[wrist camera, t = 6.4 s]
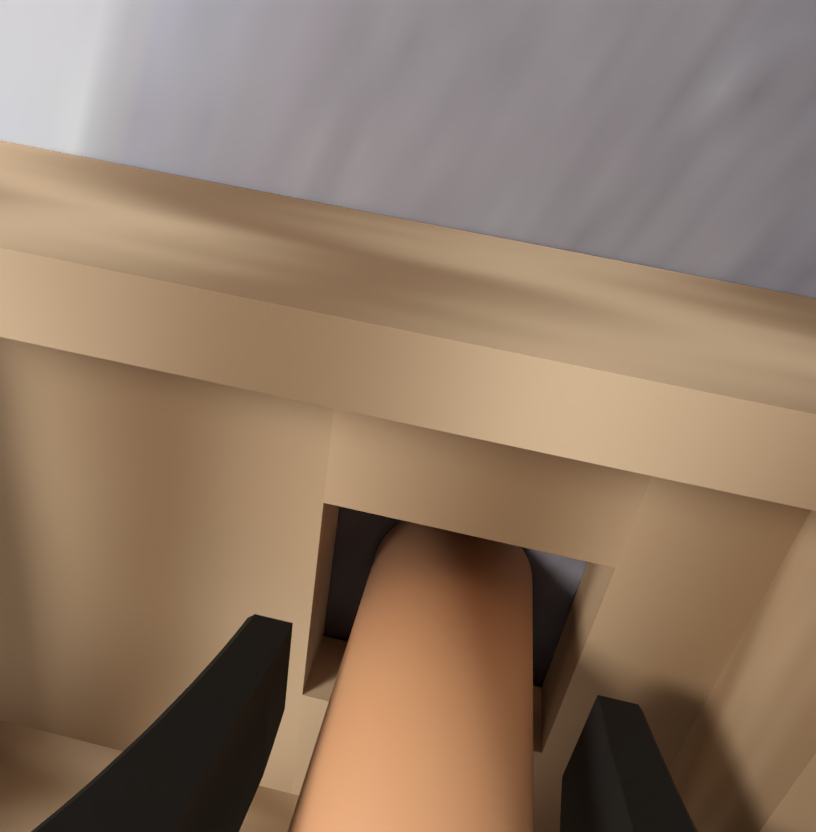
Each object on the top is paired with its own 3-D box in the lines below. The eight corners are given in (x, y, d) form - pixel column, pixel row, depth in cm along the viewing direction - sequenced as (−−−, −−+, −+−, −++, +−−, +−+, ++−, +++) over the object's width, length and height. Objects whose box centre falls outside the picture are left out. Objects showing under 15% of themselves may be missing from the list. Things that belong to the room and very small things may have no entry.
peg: (362, 614, 14) (188, 1178, 7) (389, 492, 13) (206, 1042, 5) (508, 653, 14) (485, 1271, 7) (552, 534, 12) (582, 1156, 5)
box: (-15, 678, 17) (-154, 841, 14) (-145, 113, 11) (-470, 150, 7) (634, 839, 16) (660, 1061, 13) (926, 320, 10) (1143, 481, 6)
